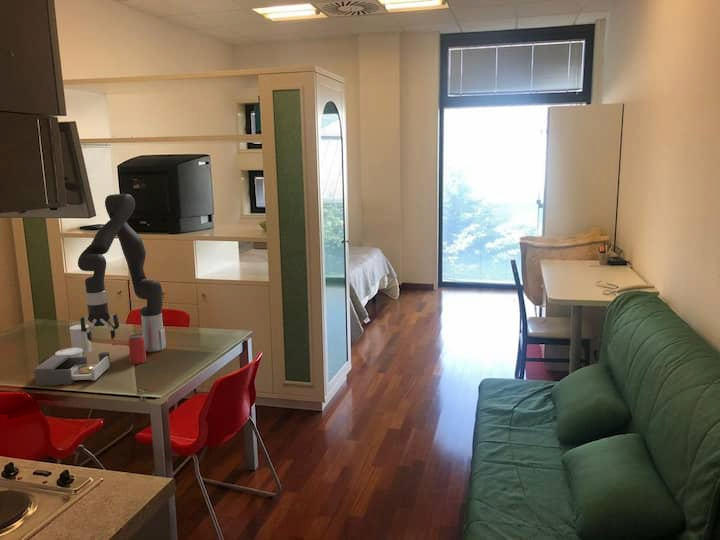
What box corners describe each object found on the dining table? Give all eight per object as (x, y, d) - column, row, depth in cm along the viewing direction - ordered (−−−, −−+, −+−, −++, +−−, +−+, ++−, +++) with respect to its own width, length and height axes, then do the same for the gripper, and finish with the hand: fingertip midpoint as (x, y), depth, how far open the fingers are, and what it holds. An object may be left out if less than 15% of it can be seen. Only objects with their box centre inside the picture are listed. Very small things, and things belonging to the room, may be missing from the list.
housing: (88, 369, 255) (86, 354, 253) (71, 384, 239) (69, 367, 238) (55, 370, 254) (53, 355, 253) (36, 385, 238) (34, 369, 237)
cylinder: (112, 362, 263) (110, 351, 262) (108, 365, 259) (107, 355, 258) (102, 362, 263) (100, 352, 262) (98, 366, 258) (96, 355, 257)
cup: (84, 354, 274) (81, 329, 272) (68, 353, 276) (65, 329, 273) (95, 348, 282) (92, 324, 279) (80, 347, 283) (77, 323, 281)
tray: (109, 366, 254) (108, 356, 253) (95, 380, 239) (93, 369, 238) (76, 367, 254) (75, 357, 253) (59, 381, 239) (58, 370, 238)
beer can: (131, 365, 259) (128, 339, 256) (129, 360, 264) (127, 335, 262) (147, 362, 262) (144, 336, 259) (145, 358, 267) (142, 332, 265)
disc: (96, 368, 249) (96, 364, 249) (90, 374, 243) (89, 369, 243) (82, 369, 249) (81, 364, 249) (75, 374, 243) (75, 370, 243)
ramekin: (64, 358, 270) (62, 347, 269) (88, 358, 269) (87, 347, 268) (51, 367, 259) (49, 355, 258) (76, 367, 258) (74, 355, 257)
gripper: (76, 305, 236) (81, 344, 240) (113, 302, 239) (118, 340, 243) (80, 301, 243) (85, 338, 247) (117, 298, 246) (121, 335, 250)
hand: (101, 339), depth 245 cm, fingers open, 8 cm apart
